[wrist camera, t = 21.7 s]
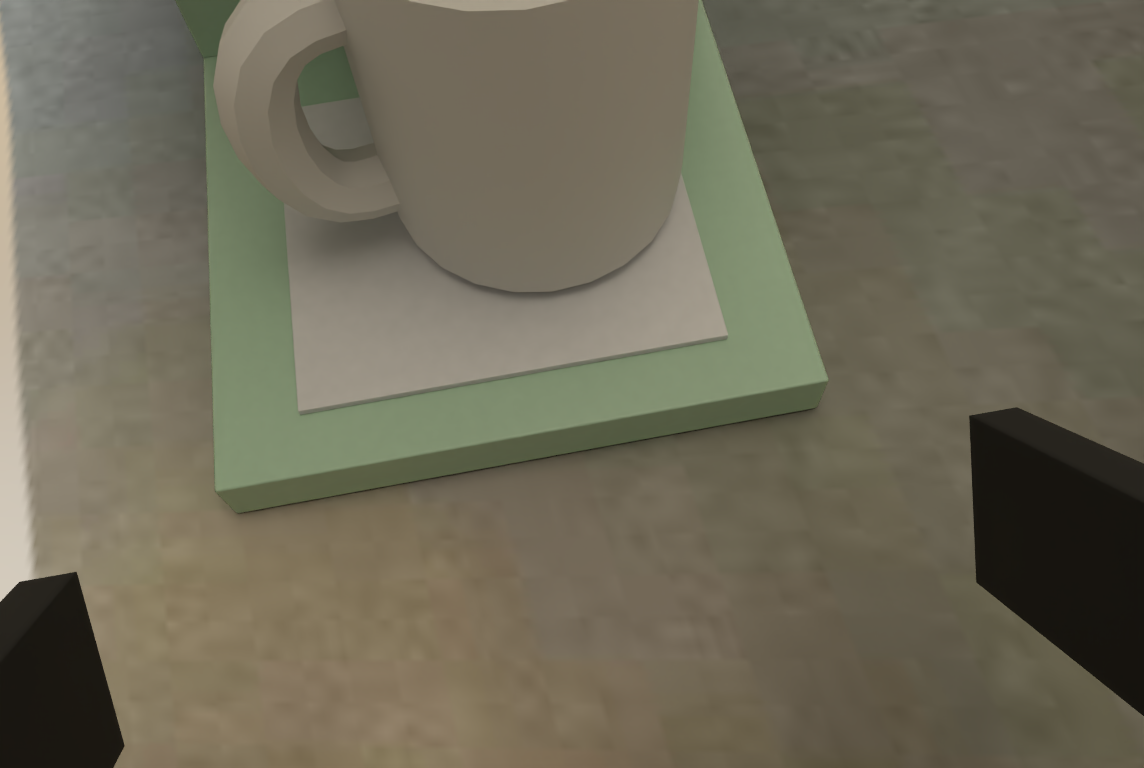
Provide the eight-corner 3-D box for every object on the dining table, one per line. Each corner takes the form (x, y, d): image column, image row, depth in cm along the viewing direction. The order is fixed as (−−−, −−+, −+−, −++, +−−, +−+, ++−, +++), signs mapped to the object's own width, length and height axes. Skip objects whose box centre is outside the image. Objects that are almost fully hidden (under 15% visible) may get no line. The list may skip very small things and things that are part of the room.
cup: (729, 241, 25) (786, -69, 17) (334, 387, 23) (190, 125, 15) (611, 39, 28) (611, -305, 20) (255, 158, 26) (101, -162, 18)
